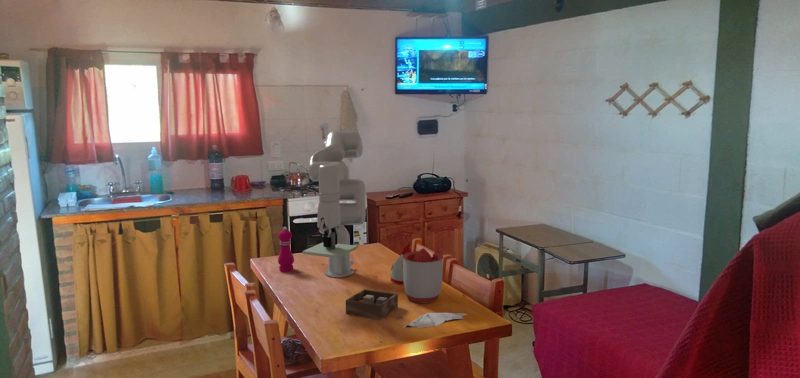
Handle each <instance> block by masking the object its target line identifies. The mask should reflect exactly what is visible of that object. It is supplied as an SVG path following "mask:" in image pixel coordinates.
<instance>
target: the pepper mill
mask: <svg viewBox="0 0 800 378" xmlns="http://www.w3.org/2000/svg"><path fill="white" fill-rule="evenodd" d="M292 238H293V234H292V231H290V230H289V229H288V227H286V226H284V227H282V230H280V232H278V240H279V245H280V252H279V255H278V258H277V263H278V265H279V266H278V268H279V269H278V270H279V271H280V272H283V273H284V272H285V273H288V272H292V271H294V265H293V264H294V263H295V257H294V255H293V252H292V250H291V244H292V241H291V239H292Z"/></svg>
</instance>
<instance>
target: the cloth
mask: <svg viewBox="0 0 800 378" xmlns="http://www.w3.org/2000/svg"><path fill="white" fill-rule="evenodd" d="M467 315H468V314H467V313H463V312H458V313H457V312H456V313H455V312H426V313H425V314H422V315H420V316H419V317H417V318H416V319H413V320H412V321H411V322H410V323H406V324H405V325H404V326H403V329H406V328H407V327H408V326H409V327H412V328H415V327H416V328H417V329H423V328H431V327H434V326H440V325H442V324H444V322H447V321H454V320H463V319H464V317H463V316H467Z"/></svg>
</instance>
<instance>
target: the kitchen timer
mask: <svg viewBox="0 0 800 378" xmlns="http://www.w3.org/2000/svg"><path fill="white" fill-rule="evenodd" d="M402 250H403V251H401V255H399V256H398V257H397V259H396V260H395V261H394V263H392V264H391V269H390V270H391V272H390V282H392V283H393V284H395V285H399V286H400V285H401V286H404V280H403V255H404V254H406V253H409V252H412V249H411V247H410V246H409V245H405V246H404V247H403V249H402Z"/></svg>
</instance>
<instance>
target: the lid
mask: <svg viewBox="0 0 800 378" xmlns="http://www.w3.org/2000/svg"><path fill="white" fill-rule="evenodd" d="M327 233H328V231H327ZM330 237H331V245H332V247H330V248H329V247H324V246H323V242H320V243H318V244H315V245H314V246H312V247H309V248H306V249H304V250H303V251H302V255H308V256H309V255H310V256H318V257H323V258H324V257H325V258H328V257H331V258H340V257H342V256H344V255H346V254H347V253H349V252H350V253H351V252H353V251H355V250H357V249H358V248H359V247H358V245H354V244H350V245H347V244H338V243H337V245H335V232H330Z"/></svg>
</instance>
